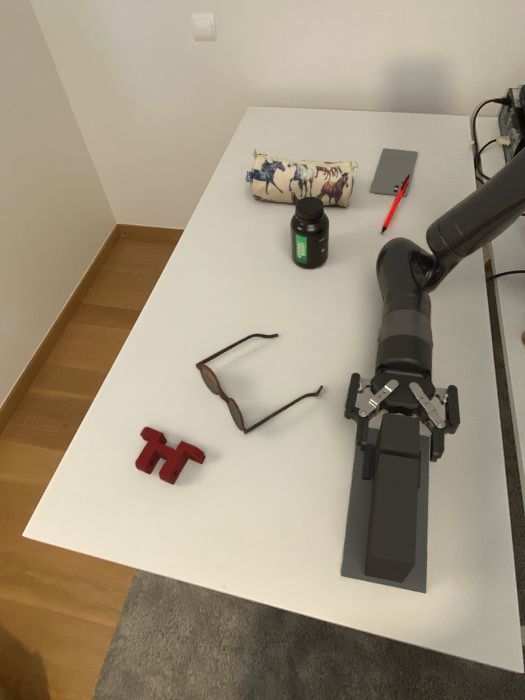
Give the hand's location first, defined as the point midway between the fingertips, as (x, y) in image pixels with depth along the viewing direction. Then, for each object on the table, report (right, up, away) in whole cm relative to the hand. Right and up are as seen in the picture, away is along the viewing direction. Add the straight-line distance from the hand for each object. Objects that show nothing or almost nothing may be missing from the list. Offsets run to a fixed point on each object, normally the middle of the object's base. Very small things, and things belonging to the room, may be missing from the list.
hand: (398, 454), depth 61 cm
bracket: (-31, -3, +10) cm, 32 cm away
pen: (+10, +42, +39) cm, 58 cm away
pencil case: (-8, +44, +43) cm, 62 cm away
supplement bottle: (-8, +30, +33) cm, 45 cm away
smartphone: (+12, +51, +46) cm, 70 cm away
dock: (0, -7, +4) cm, 8 cm away
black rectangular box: (+1, -3, +7) cm, 7 cm away
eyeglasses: (-17, +8, +17) cm, 25 cm away
